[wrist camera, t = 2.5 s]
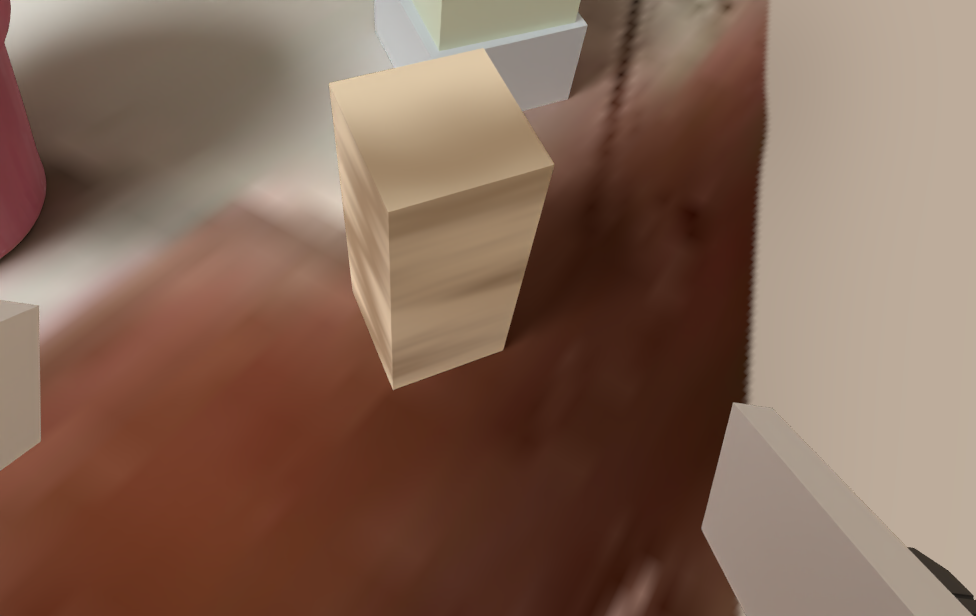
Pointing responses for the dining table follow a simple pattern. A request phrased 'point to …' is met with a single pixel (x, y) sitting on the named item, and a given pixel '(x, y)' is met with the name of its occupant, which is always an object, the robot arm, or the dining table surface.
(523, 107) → the tower base
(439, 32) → the tower top
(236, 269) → the dining table surface
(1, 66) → the plant pot
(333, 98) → the pillar
